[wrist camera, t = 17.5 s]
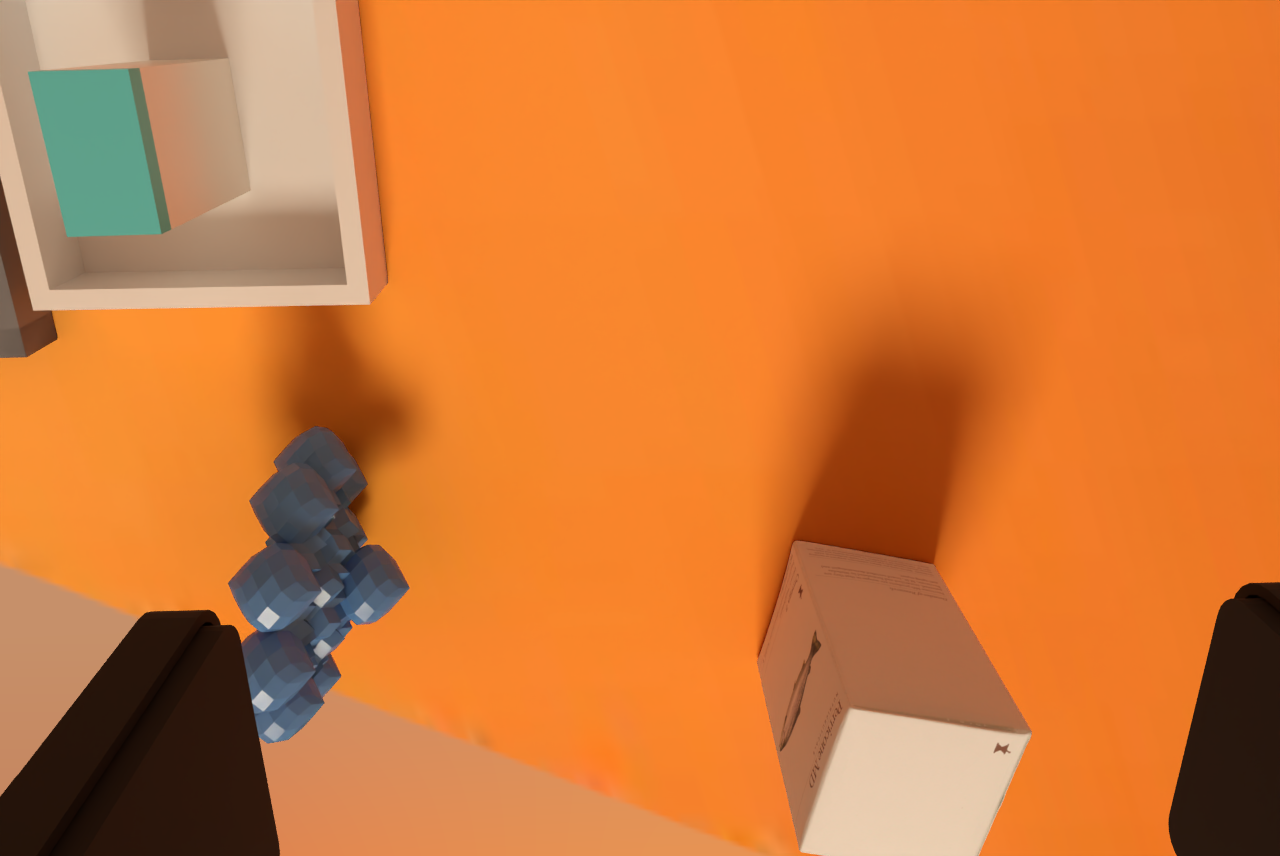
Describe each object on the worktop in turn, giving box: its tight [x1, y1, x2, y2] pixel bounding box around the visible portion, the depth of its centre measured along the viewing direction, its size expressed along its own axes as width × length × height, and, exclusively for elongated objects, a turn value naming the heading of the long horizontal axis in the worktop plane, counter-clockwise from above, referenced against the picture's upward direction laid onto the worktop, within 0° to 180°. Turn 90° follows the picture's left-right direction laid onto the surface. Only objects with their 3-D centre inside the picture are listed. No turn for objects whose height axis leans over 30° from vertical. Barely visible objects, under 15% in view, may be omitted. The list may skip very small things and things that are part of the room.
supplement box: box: [757, 541, 1032, 856], centre depth 44 cm, size 7×7×13 cm
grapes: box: [228, 426, 409, 743], centre depth 41 cm, size 12×7×12 cm, turn 173°
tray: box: [0, 0, 388, 311], centre depth 38 cm, size 13×13×4 cm
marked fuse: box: [28, 58, 251, 237], centre depth 35 cm, size 5×3×9 cm, turn 1°
